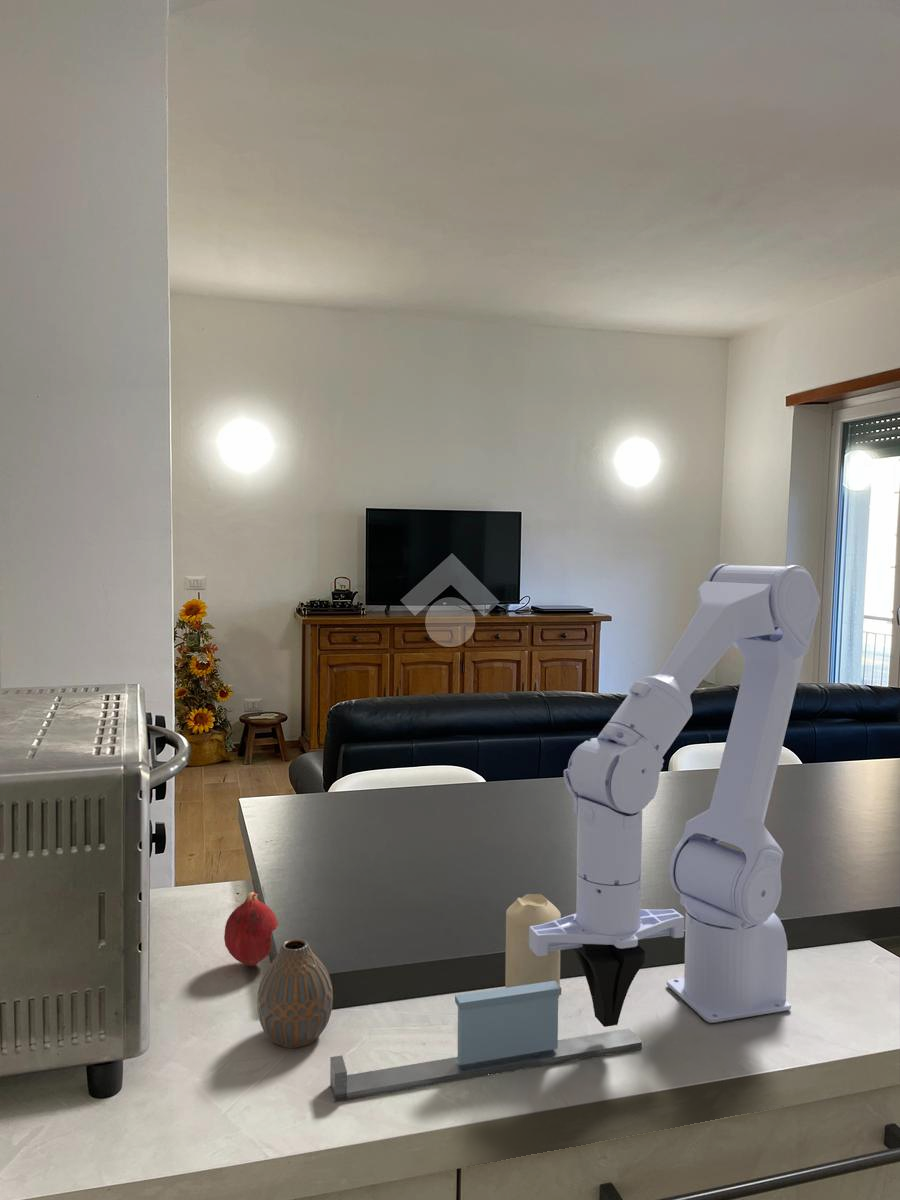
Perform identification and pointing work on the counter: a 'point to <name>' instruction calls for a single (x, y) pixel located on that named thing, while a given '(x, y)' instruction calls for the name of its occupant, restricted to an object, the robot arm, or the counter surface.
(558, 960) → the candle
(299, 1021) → the vase
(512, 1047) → the panel
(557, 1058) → the rail
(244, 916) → the onion
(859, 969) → the counter surface
